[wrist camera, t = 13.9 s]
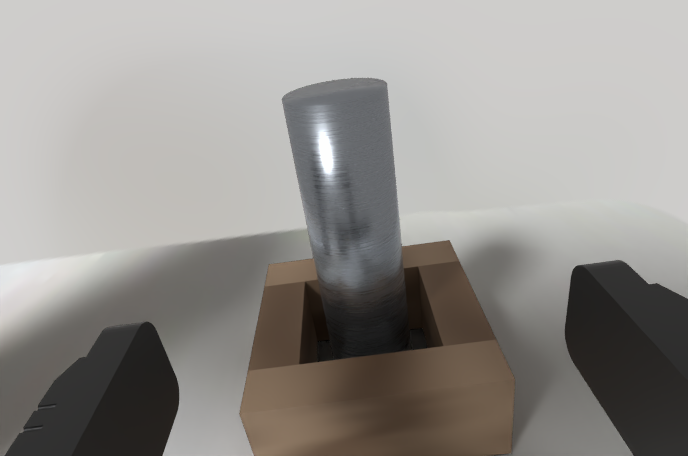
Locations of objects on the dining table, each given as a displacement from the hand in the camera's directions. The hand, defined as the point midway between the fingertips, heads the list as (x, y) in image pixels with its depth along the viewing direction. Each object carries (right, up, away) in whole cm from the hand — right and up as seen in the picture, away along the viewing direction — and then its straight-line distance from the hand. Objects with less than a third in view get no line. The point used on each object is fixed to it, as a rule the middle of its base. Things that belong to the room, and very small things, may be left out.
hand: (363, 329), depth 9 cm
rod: (+1, -4, +11) cm, 12 cm away
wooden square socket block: (+1, -4, +11) cm, 12 cm away
